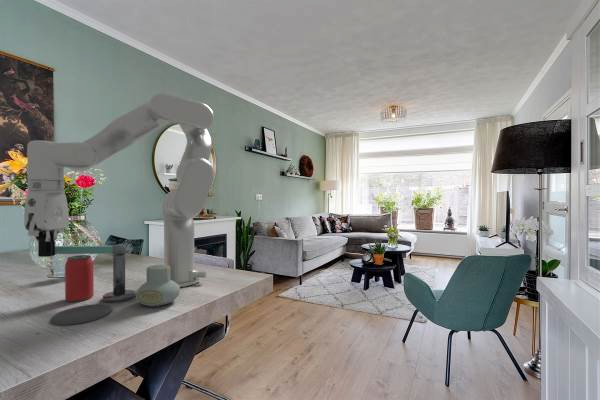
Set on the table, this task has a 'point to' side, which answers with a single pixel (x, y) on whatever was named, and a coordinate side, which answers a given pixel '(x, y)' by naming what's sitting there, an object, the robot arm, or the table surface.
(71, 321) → the rubber mat
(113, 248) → the bar
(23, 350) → the table surface
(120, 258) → the clip post
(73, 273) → the beer can
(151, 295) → the air freshener
